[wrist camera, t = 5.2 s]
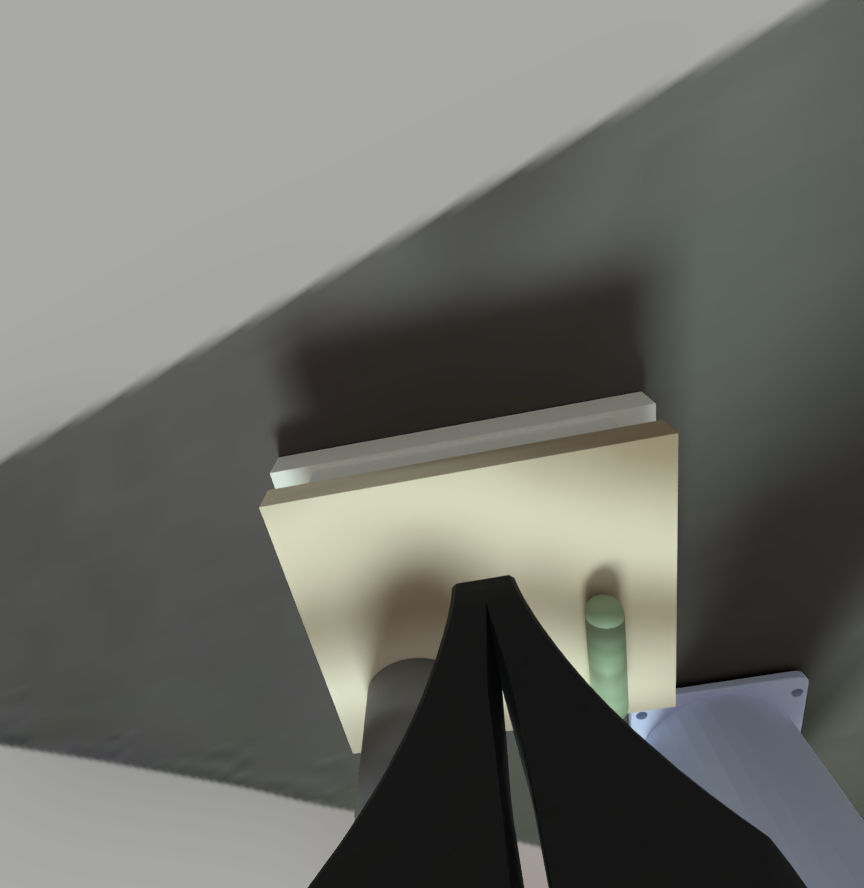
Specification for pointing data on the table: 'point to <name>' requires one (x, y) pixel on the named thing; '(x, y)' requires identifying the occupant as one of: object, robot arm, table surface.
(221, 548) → the table surface
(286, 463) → the stand
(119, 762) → the table surface
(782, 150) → the table surface
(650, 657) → the plate
